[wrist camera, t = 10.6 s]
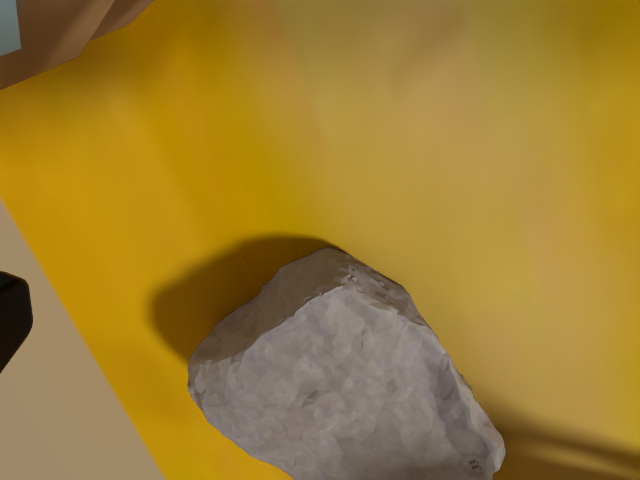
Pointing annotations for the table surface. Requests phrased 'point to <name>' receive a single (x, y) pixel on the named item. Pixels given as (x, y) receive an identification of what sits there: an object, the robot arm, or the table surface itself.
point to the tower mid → (50, 35)
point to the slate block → (9, 27)
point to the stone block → (341, 381)
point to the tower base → (120, 15)
